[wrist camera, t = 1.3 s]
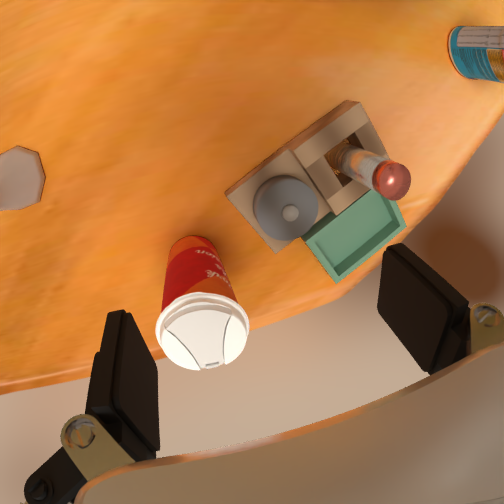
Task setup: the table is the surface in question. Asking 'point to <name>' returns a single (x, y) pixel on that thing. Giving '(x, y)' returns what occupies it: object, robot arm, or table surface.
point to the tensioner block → (304, 178)
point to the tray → (354, 233)
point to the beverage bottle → (478, 52)
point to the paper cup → (199, 308)
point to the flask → (20, 178)
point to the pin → (370, 170)
